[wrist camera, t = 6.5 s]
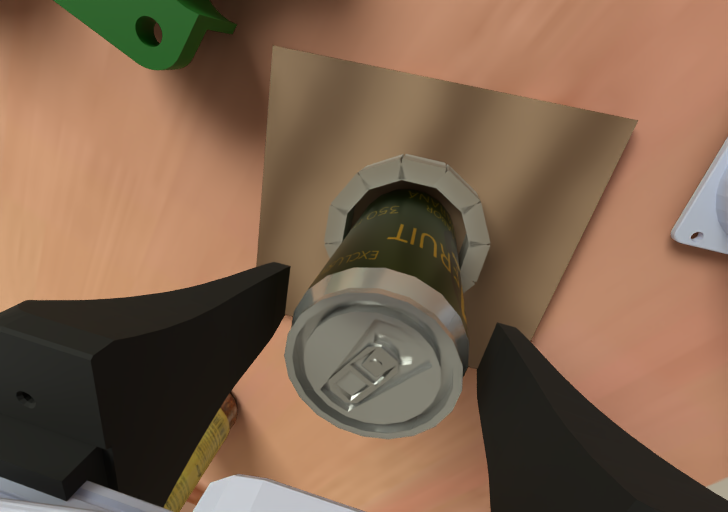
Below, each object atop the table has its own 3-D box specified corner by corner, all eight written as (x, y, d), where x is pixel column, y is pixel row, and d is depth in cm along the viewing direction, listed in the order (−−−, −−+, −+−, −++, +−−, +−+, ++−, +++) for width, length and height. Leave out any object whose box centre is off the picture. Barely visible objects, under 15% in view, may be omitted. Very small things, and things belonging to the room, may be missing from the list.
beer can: (408, 290, 22) (378, 469, 11) (343, 232, 21) (243, 363, 10) (474, 231, 20) (519, 382, 9) (404, 165, 19) (357, 240, 8)
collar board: (627, 119, 17) (663, 122, 14) (509, 368, 24) (518, 402, 21) (280, 48, 19) (254, 38, 16) (260, 298, 26) (238, 320, 23)
